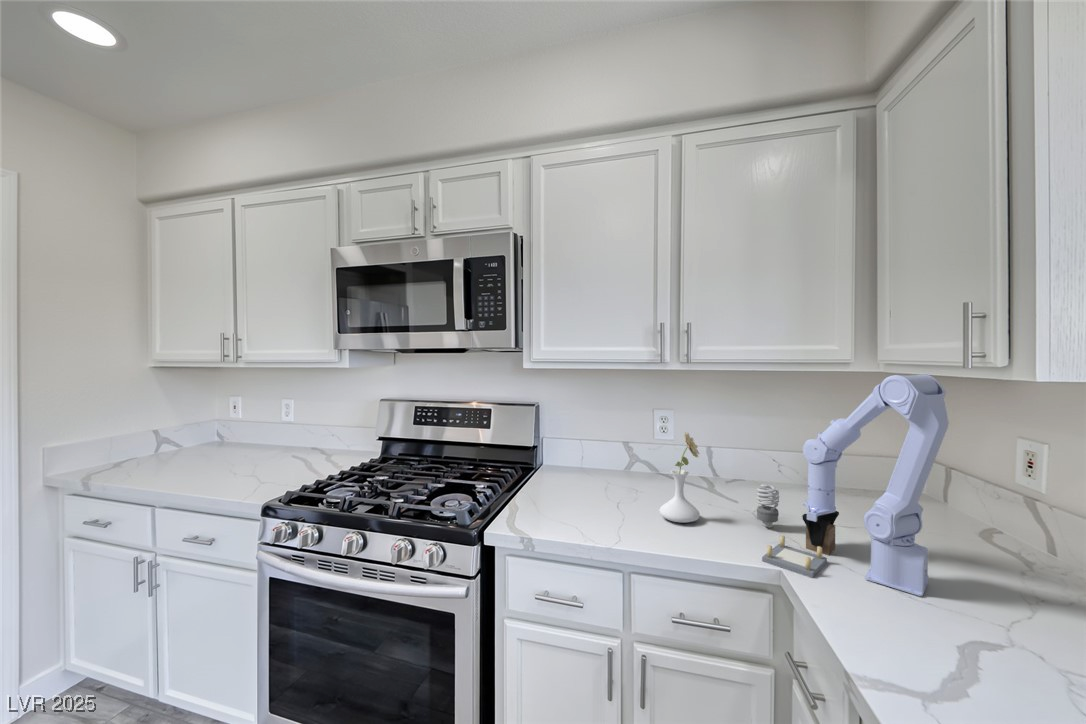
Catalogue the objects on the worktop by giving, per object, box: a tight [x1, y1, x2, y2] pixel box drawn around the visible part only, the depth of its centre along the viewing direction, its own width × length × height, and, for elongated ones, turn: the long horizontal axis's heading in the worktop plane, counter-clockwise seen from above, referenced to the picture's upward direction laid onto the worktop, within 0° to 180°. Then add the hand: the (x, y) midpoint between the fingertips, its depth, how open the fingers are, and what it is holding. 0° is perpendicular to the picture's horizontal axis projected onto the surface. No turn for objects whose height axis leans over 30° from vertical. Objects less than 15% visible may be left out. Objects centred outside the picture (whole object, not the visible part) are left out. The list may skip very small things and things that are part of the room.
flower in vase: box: [658, 431, 701, 524], centre depth 130 cm, size 13×11×25 cm
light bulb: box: [756, 484, 780, 529], centre depth 123 cm, size 6×6×12 cm
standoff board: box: [761, 535, 828, 579], centre depth 103 cm, size 10×10×4 cm
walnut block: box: [805, 524, 836, 556], centre depth 110 cm, size 5×5×6 cm
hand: (820, 542), depth 110 cm, fingers closed on walnut block, 5 cm apart
